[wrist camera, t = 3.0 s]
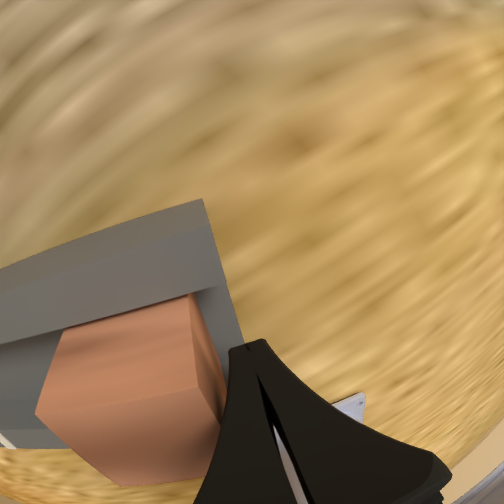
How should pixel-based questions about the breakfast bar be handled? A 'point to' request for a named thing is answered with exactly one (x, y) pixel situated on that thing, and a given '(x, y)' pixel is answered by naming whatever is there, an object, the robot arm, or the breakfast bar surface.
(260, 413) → the robot arm
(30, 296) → the chute
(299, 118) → the breakfast bar surface
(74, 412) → the block
